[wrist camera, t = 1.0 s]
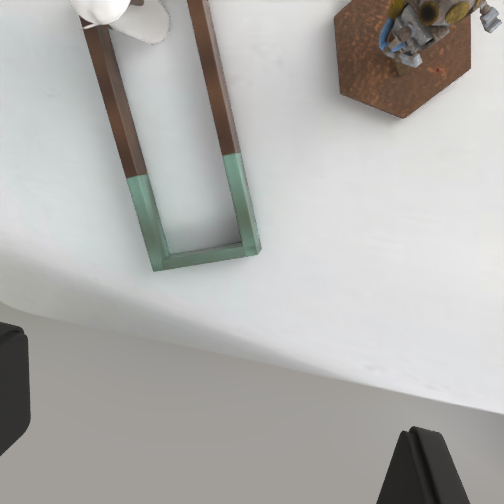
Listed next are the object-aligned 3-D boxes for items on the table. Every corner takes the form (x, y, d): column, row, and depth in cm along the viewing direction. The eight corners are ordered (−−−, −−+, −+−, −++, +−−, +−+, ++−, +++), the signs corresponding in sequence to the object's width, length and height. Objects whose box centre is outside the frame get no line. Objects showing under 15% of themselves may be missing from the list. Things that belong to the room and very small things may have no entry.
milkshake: (128, 62, 33) (49, 28, 23) (126, -8, 31) (41, -76, 22) (177, 64, 32) (116, 29, 23) (178, -8, 31) (112, -78, 21)
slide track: (85, -4, 32) (70, -14, 30) (197, -46, 30) (189, -59, 28) (161, 265, 37) (153, 272, 36) (261, 249, 35) (258, 255, 33)
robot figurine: (370, 143, 31) (397, 140, 20) (302, 48, 30) (289, -12, 19) (500, 45, 28) (624, -27, 16) (428, -65, 27) (507, -224, 15)
